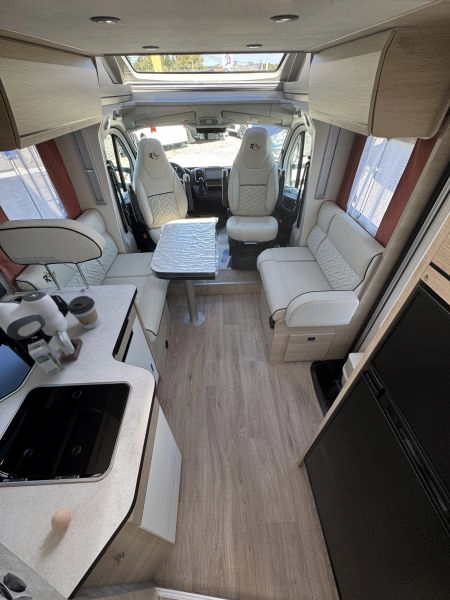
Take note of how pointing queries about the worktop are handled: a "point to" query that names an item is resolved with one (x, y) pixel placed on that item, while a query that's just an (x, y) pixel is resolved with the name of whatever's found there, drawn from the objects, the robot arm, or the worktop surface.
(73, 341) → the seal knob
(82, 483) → the worktop surface
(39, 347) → the syrup box
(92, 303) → the coffee cup
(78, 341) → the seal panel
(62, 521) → the egg
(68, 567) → the worktop surface
